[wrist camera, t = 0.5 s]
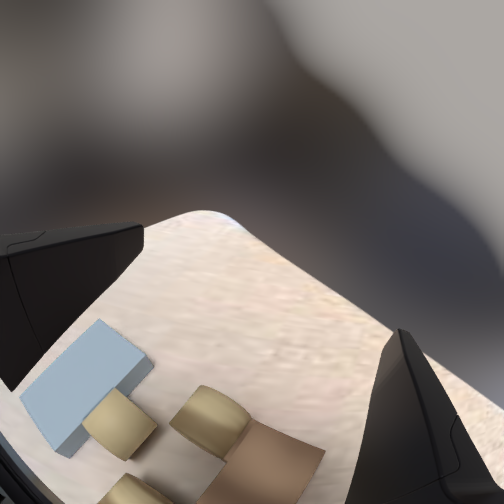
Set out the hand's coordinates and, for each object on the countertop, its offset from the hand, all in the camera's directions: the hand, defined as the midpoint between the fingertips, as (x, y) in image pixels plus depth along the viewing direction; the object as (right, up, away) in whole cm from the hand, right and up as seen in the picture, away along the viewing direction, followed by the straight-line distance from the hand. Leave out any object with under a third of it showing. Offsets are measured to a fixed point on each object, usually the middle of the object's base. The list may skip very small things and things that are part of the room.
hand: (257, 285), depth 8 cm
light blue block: (-15, -14, +13) cm, 24 cm away
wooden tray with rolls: (-3, -18, +7) cm, 19 cm away
